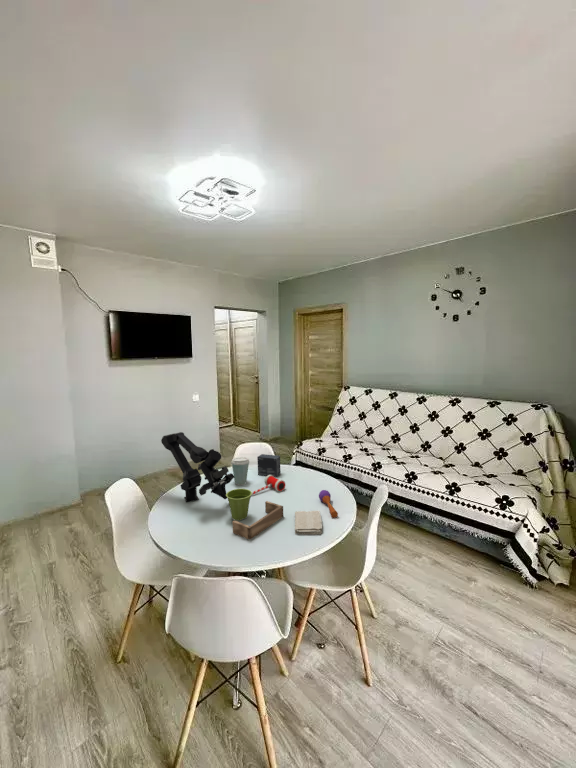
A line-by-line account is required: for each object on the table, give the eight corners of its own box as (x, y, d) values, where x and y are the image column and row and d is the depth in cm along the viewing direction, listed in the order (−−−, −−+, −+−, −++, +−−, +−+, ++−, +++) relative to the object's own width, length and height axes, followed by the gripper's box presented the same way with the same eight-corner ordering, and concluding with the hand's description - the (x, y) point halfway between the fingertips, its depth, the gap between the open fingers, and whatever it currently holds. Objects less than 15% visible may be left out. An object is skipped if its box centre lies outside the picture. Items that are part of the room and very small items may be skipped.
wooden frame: (232, 532, 137) (232, 521, 136) (267, 511, 155) (266, 501, 155) (249, 540, 131) (249, 528, 131) (283, 516, 150) (283, 506, 149)
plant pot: (253, 521, 146) (253, 497, 145) (227, 524, 143) (226, 500, 142) (251, 509, 157) (250, 487, 156) (226, 512, 155) (225, 489, 154)
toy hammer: (251, 502, 166) (250, 490, 165) (239, 495, 175) (239, 483, 174) (285, 490, 180) (285, 479, 179) (273, 484, 189) (273, 473, 189)
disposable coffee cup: (229, 481, 193) (228, 457, 192) (247, 478, 197) (246, 454, 196) (234, 488, 183) (233, 462, 182) (252, 484, 188) (251, 459, 186)
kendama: (327, 510, 147) (316, 489, 166) (329, 522, 148) (318, 499, 167) (339, 507, 147) (327, 486, 167) (341, 518, 149) (329, 496, 168)
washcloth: (294, 536, 134) (294, 529, 134) (294, 515, 152) (294, 508, 152) (323, 536, 134) (323, 528, 134) (319, 514, 152) (319, 508, 151)
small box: (281, 474, 204) (280, 455, 203) (276, 477, 198) (276, 458, 196) (262, 471, 209) (261, 453, 208) (257, 475, 202) (256, 456, 201)
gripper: (201, 468, 149) (219, 497, 143) (231, 457, 164) (248, 483, 158) (191, 481, 154) (208, 509, 148) (220, 469, 169) (236, 495, 163)
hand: (226, 498), depth 154 cm, fingers closed
